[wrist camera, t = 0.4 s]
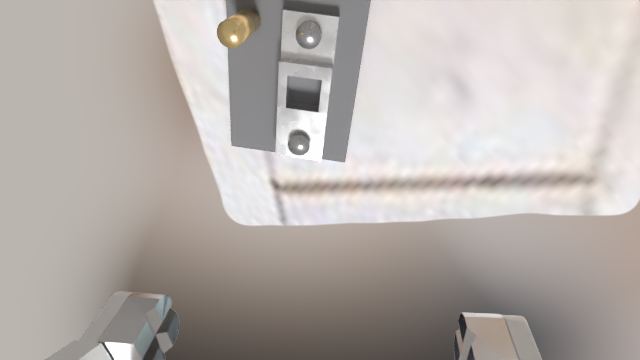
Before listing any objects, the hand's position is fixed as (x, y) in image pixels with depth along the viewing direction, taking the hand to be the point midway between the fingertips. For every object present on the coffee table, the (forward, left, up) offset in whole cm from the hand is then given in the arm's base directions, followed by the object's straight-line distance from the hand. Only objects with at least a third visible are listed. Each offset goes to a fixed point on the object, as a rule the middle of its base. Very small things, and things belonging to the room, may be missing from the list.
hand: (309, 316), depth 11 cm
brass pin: (+2, -14, -44) cm, 46 cm away
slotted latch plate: (+10, -6, -44) cm, 46 cm away
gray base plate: (+9, -8, -44) cm, 46 cm away
